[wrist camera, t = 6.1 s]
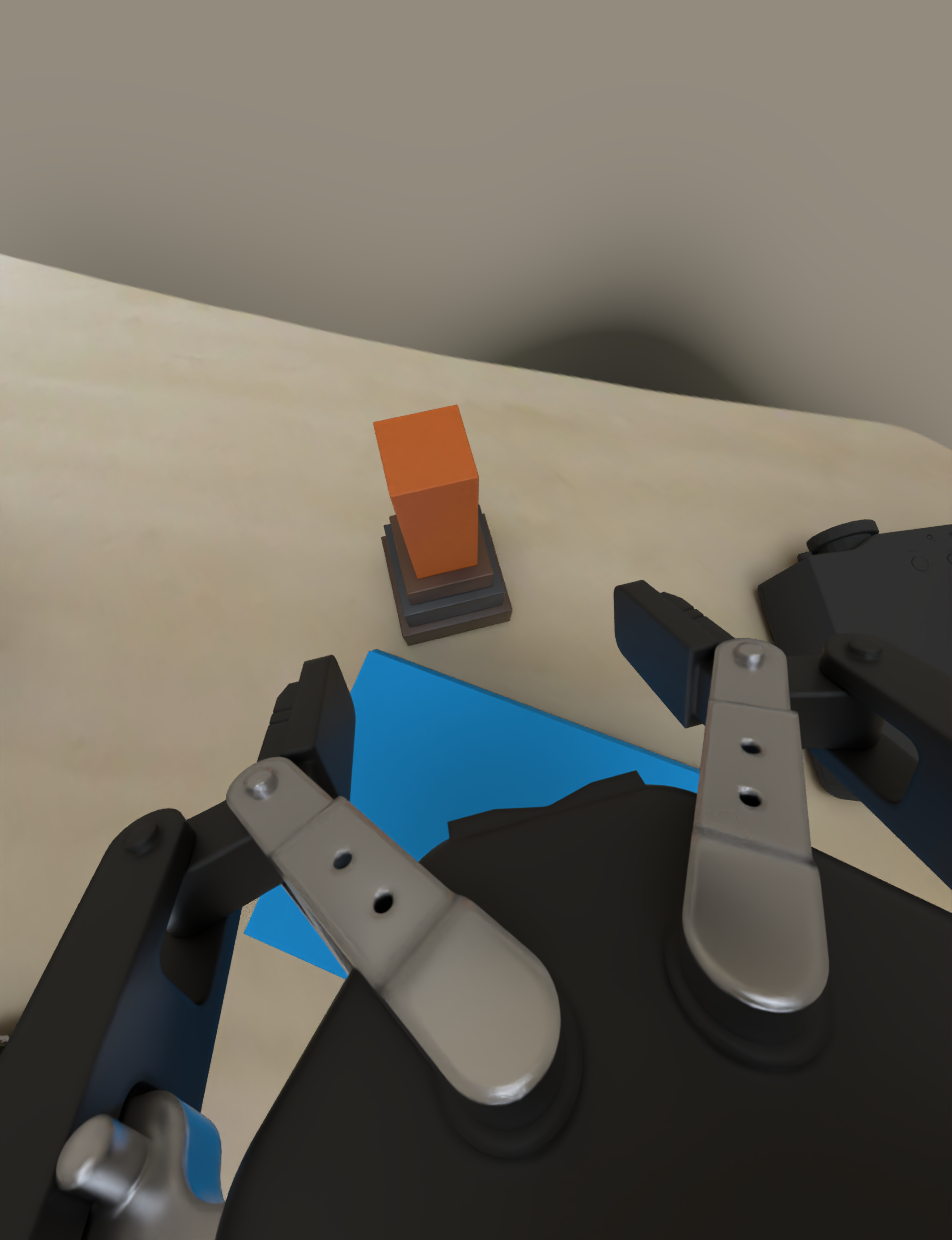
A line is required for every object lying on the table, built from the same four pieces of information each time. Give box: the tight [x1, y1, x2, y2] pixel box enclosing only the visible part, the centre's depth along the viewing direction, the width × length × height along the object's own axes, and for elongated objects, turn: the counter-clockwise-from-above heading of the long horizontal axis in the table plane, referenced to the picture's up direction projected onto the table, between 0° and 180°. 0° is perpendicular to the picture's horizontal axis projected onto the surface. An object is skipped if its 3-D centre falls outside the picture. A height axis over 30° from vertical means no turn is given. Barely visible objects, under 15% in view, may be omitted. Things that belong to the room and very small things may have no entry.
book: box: [244, 649, 700, 979], centre depth 27 cm, size 17×4×25 cm
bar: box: [373, 405, 479, 579], centre depth 23 cm, size 4×4×9 cm
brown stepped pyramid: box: [381, 504, 512, 645], centre depth 31 cm, size 8×8×7 cm
